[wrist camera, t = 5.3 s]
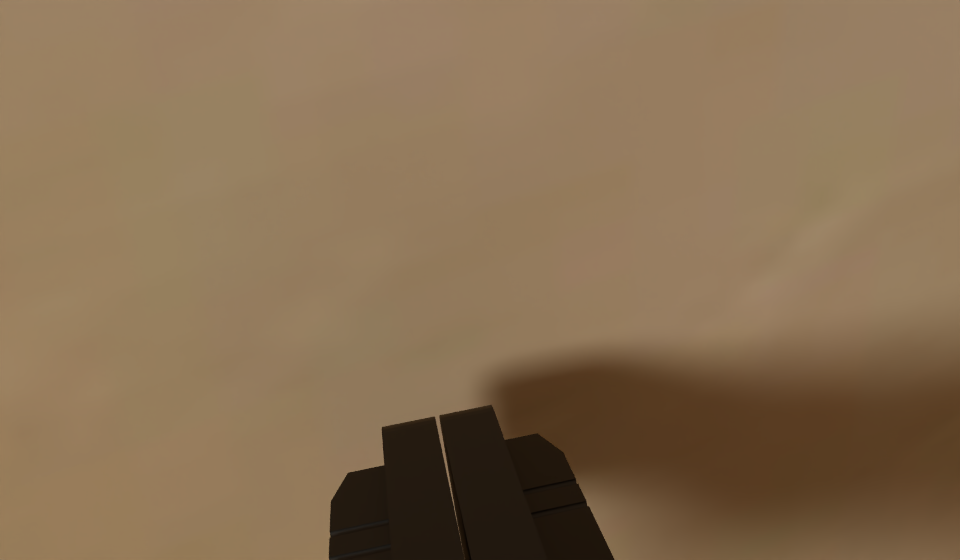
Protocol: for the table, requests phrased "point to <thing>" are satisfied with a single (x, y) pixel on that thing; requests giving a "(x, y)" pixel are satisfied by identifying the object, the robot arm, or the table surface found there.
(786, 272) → the table surface
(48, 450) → the table surface
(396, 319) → the table surface
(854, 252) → the table surface
